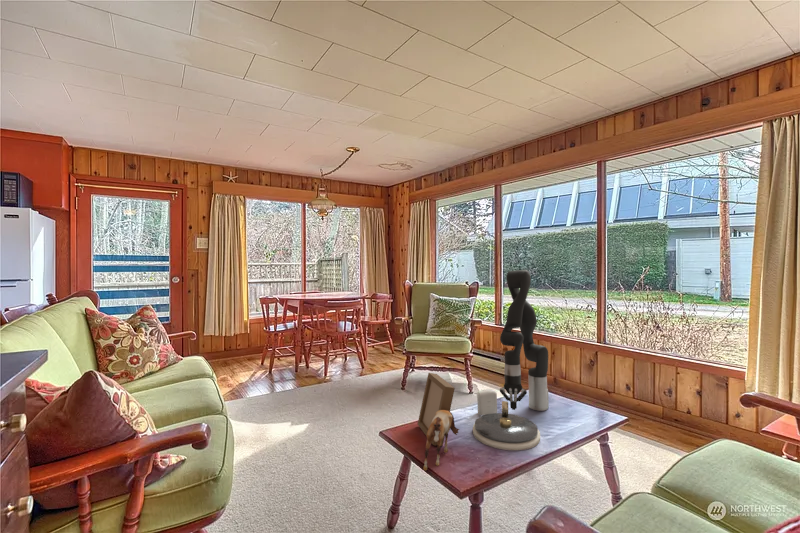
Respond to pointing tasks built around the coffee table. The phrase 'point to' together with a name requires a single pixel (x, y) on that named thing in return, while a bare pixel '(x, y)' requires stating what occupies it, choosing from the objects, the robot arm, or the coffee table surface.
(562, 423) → the coffee table surface
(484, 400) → the photo printer
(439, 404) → the photo frame
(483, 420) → the handwheel
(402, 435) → the coffee table surface
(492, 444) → the base plate
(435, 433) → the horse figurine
